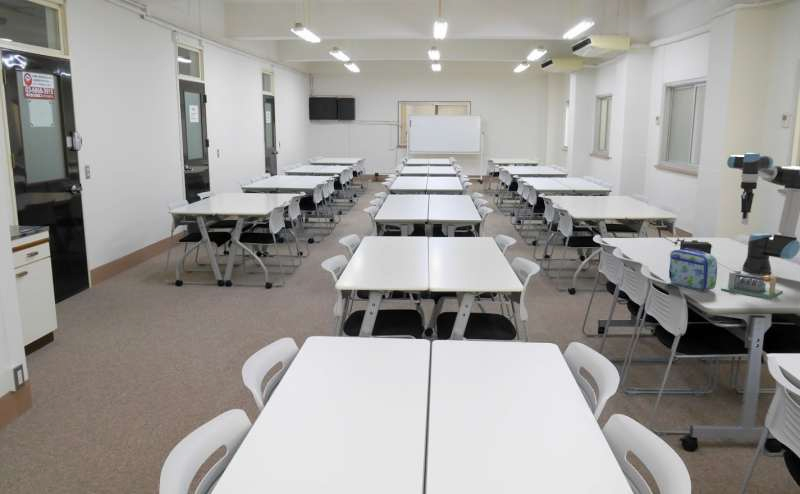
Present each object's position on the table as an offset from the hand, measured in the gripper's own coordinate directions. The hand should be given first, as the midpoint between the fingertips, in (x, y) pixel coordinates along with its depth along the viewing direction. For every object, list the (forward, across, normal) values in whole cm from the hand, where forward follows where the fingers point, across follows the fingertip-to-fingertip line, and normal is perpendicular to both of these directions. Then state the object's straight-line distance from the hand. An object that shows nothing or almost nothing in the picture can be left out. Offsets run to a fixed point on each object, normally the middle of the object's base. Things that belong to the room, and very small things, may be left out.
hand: (744, 224), depth 331 cm
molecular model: (+35, -41, -51) cm, 74 cm away
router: (+35, -8, -28) cm, 45 cm away
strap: (+27, +11, +11) cm, 31 cm away
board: (+34, +11, +10) cm, 37 cm away
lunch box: (+35, +25, -16) cm, 46 cm away
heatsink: (+34, +11, +10) cm, 37 cm away
